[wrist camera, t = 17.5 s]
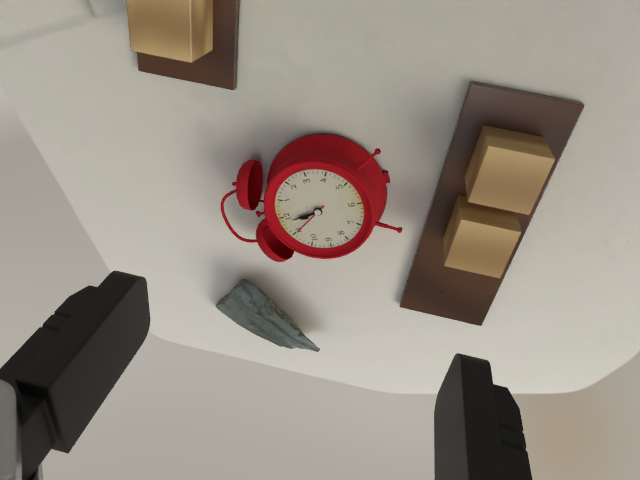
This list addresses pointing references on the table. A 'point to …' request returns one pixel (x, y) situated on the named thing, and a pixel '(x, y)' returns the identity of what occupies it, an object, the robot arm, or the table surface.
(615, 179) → the table surface
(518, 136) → the tray
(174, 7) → the brown block tray
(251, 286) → the stone
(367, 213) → the alarm clock
